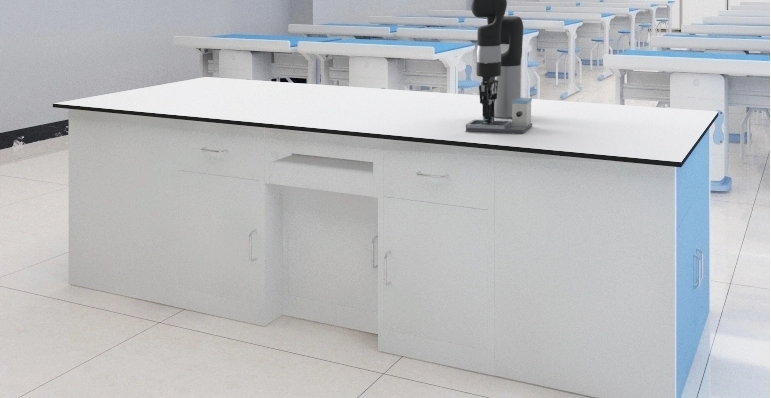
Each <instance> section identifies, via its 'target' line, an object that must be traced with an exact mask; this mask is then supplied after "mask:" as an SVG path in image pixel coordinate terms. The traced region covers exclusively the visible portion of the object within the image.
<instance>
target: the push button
mask: <svg viewBox="0 0 771 398" xmlns="http://www.w3.org/2000/svg"><path fill="white" fill-rule="evenodd" d="M496 96H497V94H494V90H493V95H492V98H491V100H490V116H489V117H483V116H482V120H483V124H490V123H493V122H494V120H495V117H494V114H493V111H492V101H494V100H495V99H496ZM484 100H486V97H485V98H484Z"/></svg>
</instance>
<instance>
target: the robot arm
mask: <svg viewBox="0 0 771 398" xmlns="http://www.w3.org/2000/svg"><path fill="white" fill-rule="evenodd" d="M507 7H508V1H507V0H472V2H471V8H470V9H471V12H472V14H473V16H474V17H476V18H486V21H487V24H485V25H482V26H479V27H478V28H477V40H476V41H477V43H476V44H477V48H476V76H478V77H481V78H482V81H481V83H480V84H479V85H478V92H479V93H478V94H479V95H478V96H479V104H481V105H482V118H483V117H489V116H490V100H491V98H492V95H493V90H494V94H497V96H496V99H495V100H494V101H492V111H493V114H494V118H503V119H508V118H511V119H512V100H513V99H515V98H522V95H521V93H522V92H521V91H522V90H521V88H522V87H521V85H522V83H521V82H522V80H521V79H522V74H521V73H522V56H523V41H524V21H523V20H522V18H521V17H520V16H516V15H515V16H514V15H511V16H509V15H505V14H506V10H507ZM501 45H508V49H507V50H506V51H505V52H503V53H502V49H501V48H502V47H501ZM485 97H486V100H484V98H485Z"/></svg>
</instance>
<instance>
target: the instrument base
mask: <svg viewBox="0 0 771 398" xmlns="http://www.w3.org/2000/svg"><path fill="white" fill-rule="evenodd" d="M532 100H533V99H532V97H521V98H515V99H513V100H512V118H511V120H496V119H494V122H493V123H490V124H483V119H473V120H471V121H469V122H468V123H466V124H465V132H468V133H469V132H471V133H472V132H474V133H492V134H494V133H496V134H512V133H514V135H516V134H517V135H523V134H525V133H527V132H528V131H529V130H530V129H531V128H533V122H532Z"/></svg>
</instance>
